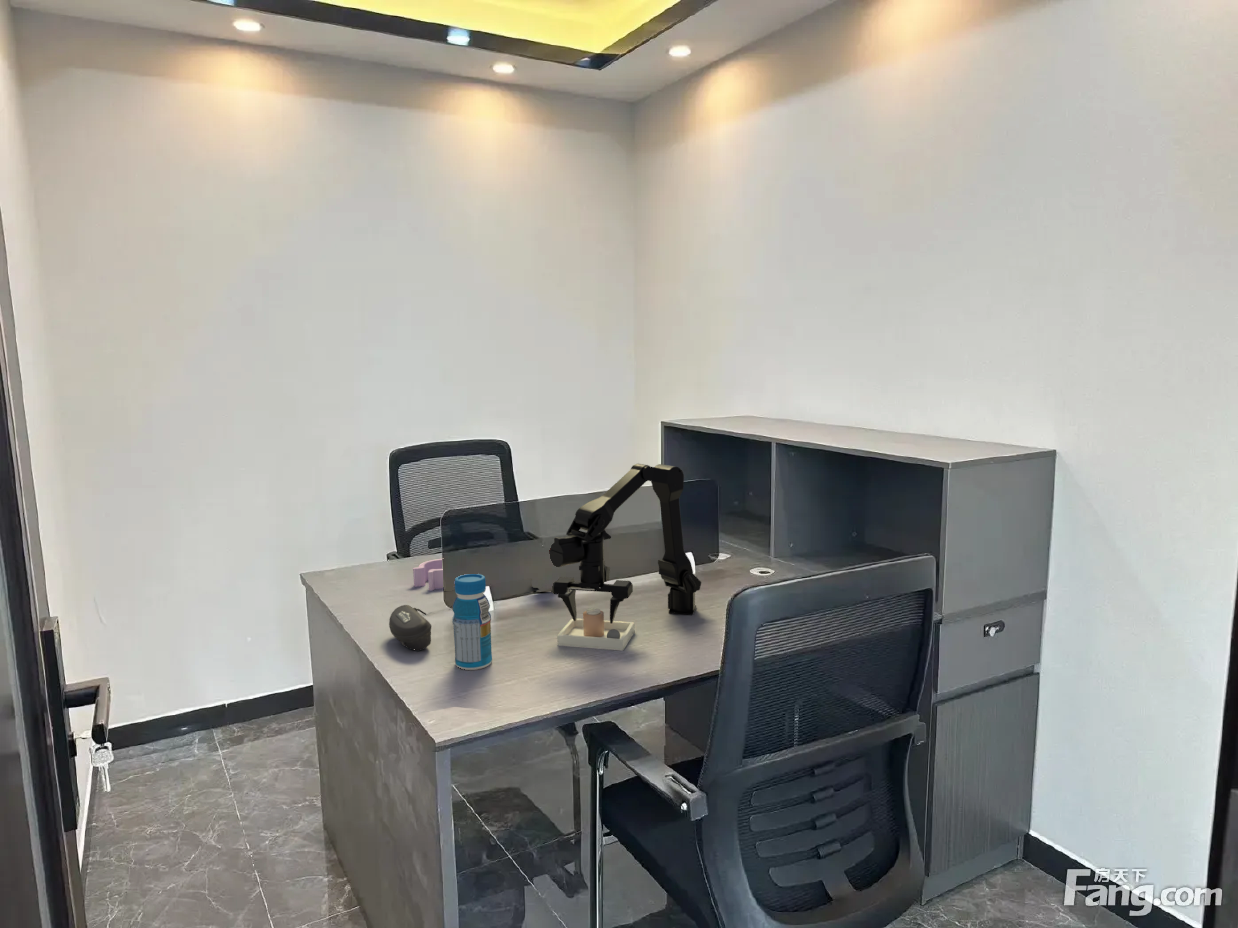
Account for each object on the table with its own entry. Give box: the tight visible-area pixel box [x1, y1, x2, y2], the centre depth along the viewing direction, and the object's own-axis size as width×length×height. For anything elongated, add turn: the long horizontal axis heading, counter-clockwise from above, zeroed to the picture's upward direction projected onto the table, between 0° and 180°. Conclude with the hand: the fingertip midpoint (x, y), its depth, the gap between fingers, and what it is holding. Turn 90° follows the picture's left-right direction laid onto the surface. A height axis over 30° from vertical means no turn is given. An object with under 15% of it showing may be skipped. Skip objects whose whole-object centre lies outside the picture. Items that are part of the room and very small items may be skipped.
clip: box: [412, 558, 444, 591], centre depth 234 cm, size 20×12×7 cm, turn 144°
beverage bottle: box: [451, 573, 493, 671], centre depth 174 cm, size 8×8×20 cm
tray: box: [556, 617, 635, 651], centre depth 189 cm, size 16×12×2 cm
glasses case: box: [388, 604, 432, 651], centre depth 188 cm, size 18×10×8 cm, turn 31°
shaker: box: [582, 607, 605, 637], centre depth 190 cm, size 5×5×6 cm
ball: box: [607, 629, 620, 639], centre depth 185 cm, size 3×3×3 cm
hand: (593, 621), depth 190 cm, fingers open, 9 cm apart
